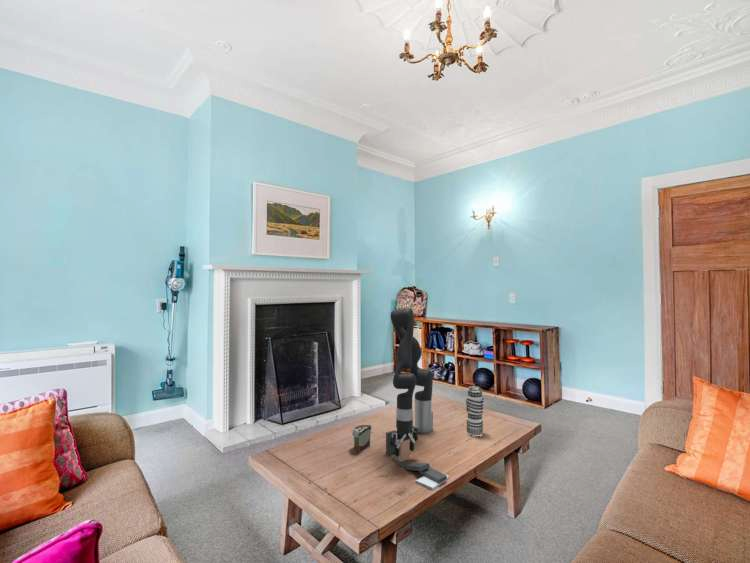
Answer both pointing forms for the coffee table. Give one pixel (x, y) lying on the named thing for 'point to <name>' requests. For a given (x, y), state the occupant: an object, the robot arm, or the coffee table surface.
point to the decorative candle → (474, 411)
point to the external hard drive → (428, 482)
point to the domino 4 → (417, 466)
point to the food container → (361, 437)
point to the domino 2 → (404, 450)
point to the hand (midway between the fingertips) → (404, 453)
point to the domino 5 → (434, 475)
